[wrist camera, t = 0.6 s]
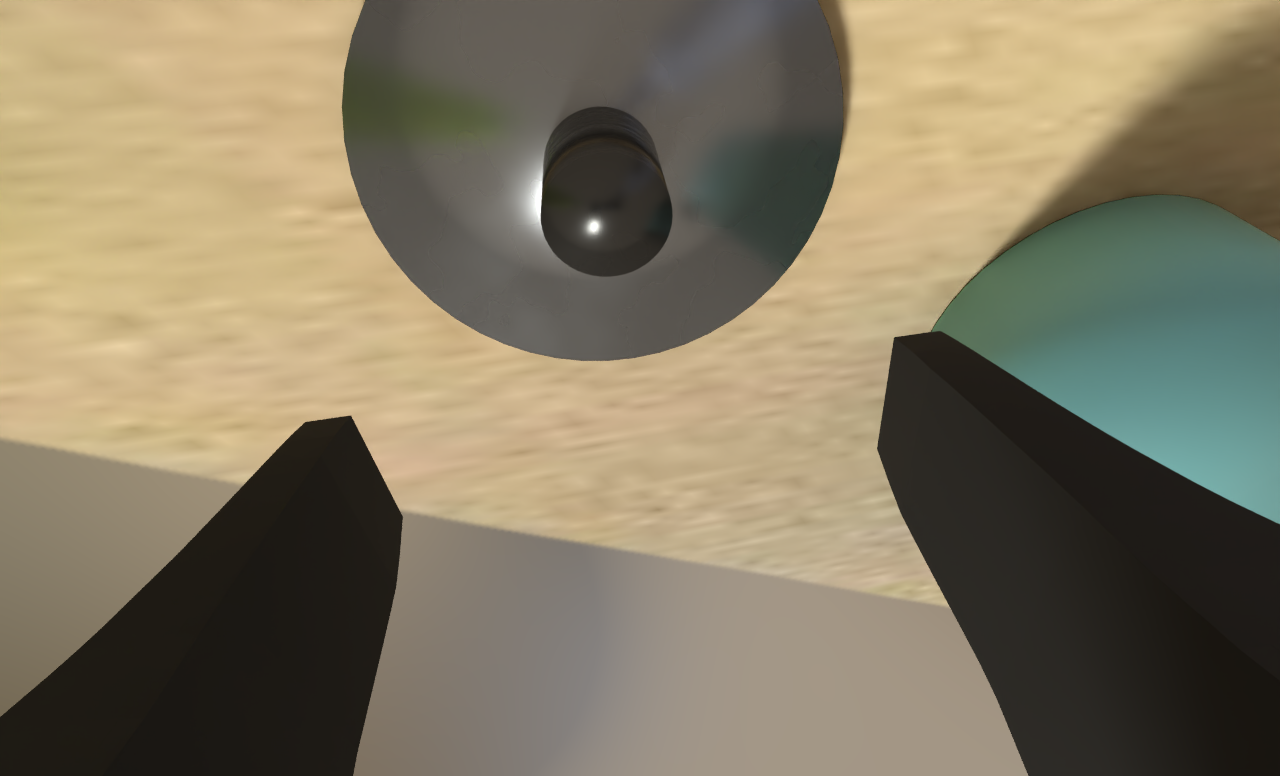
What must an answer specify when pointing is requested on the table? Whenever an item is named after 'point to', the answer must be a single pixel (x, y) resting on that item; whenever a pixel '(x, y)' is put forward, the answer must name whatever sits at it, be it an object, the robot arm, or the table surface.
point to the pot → (1147, 334)
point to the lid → (593, 160)
